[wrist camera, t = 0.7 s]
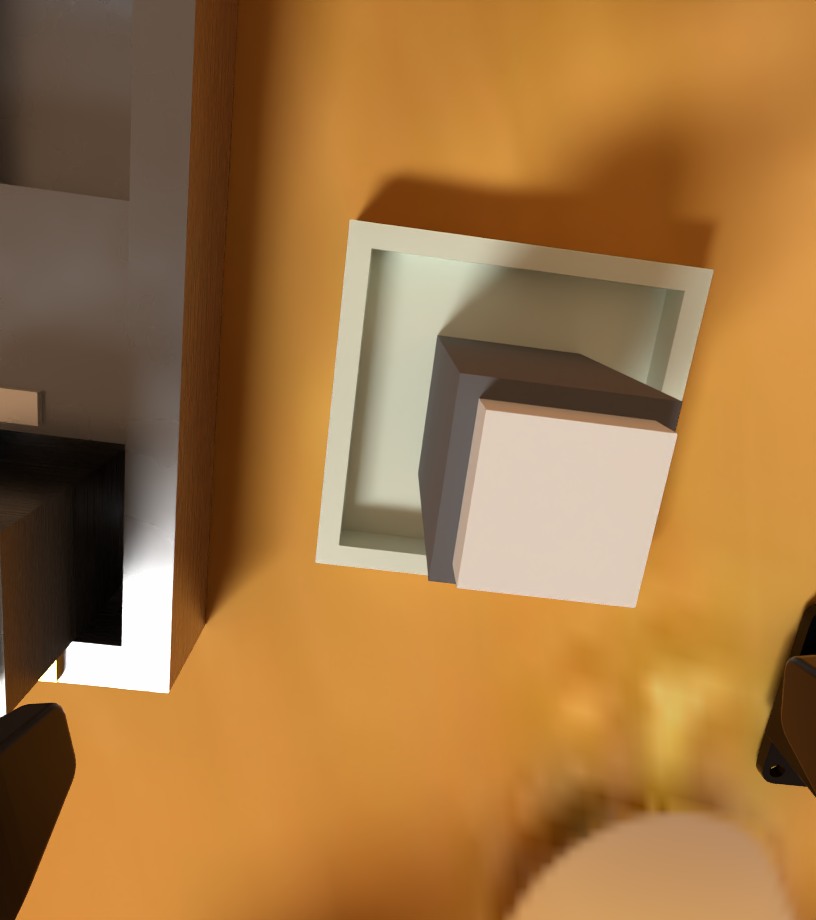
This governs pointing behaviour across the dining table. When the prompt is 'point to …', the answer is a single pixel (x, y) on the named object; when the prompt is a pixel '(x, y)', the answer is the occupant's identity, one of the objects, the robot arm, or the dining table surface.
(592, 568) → the plug
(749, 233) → the dining table surface
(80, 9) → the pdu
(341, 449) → the tray
